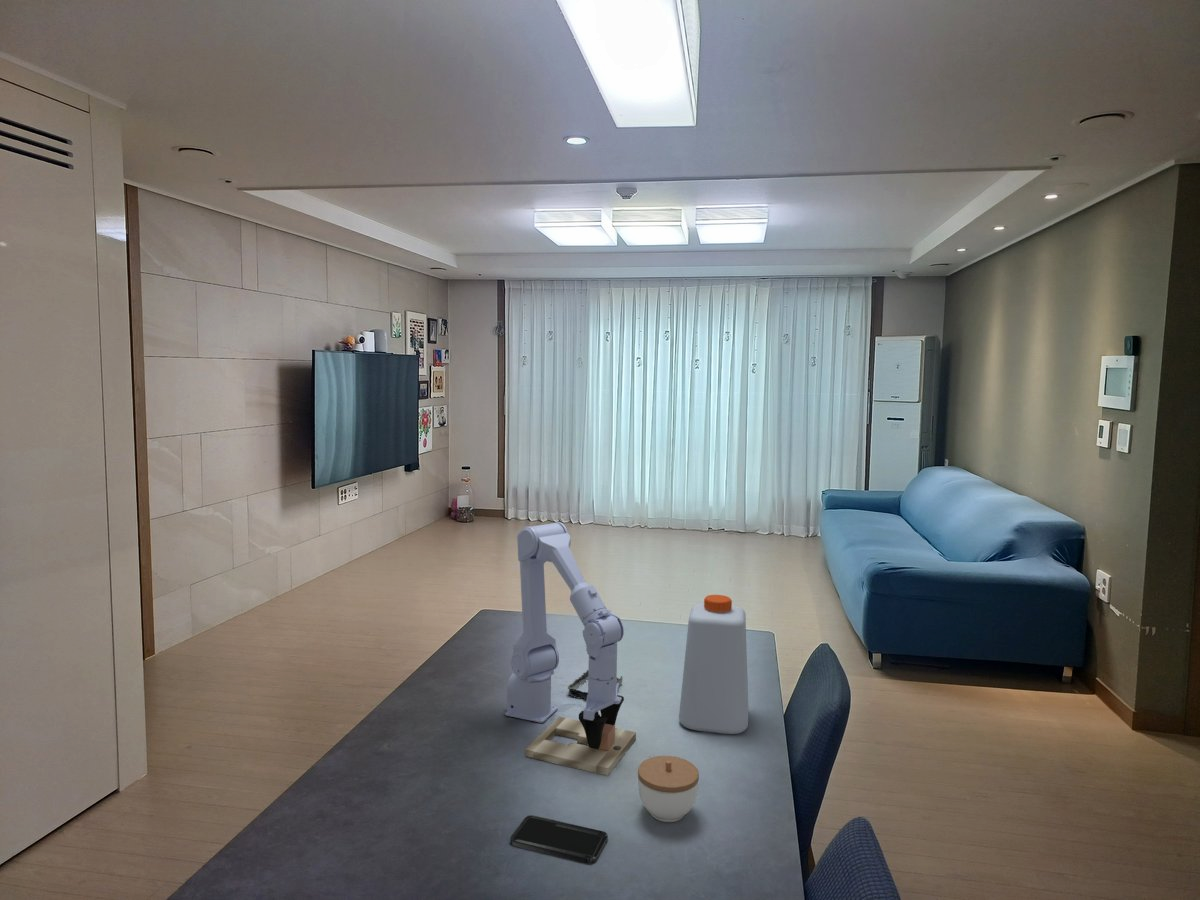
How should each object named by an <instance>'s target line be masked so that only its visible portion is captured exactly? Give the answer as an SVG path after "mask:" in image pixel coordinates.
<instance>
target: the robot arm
mask: <svg viewBox="0 0 1200 900" xmlns="http://www.w3.org/2000/svg"><path fill="white" fill-rule="evenodd" d="M571 537H572V536H571V535H570V534H569V532H568V529H567V527H566V526H565V524H564V523H562V522H561V521H556V522H553V523H547V524H546V523H545V524H541V525H533V526H524V527H523V528H522V529H521V530H520V531H519V532H518V533H517V537H516V538H517V541H516V542H517V556H518V557H517V558H518V559H517V561H518V562H519V572H520V573H519V575H520V592H521V593H520V596H521V614H522V615H521V616H522V618H521V619H522V634H521V635H520V636H519V637H518V638H517V639H516V640H515V641H514V643H513V645H512V655H511V658H510V659H511V660H510V666H511V669H512V673H511V674H510V676H509V679H508V681H507V686H506V687H507V688H506V689H507V690H506V691H507V695H506V696H507V697H506V699H507V700H506V703H507V705H506V706H507V707H506V708H507V709H506V712H505V716H508V717H511V718H512V717H513V718H516V719H519V720H520V719H521V720H525V721H531V722H534V723H535V722H536V723H541V724H543V723H545V722H546V721H547V720H548V719H549V718H550V717H551V716H552V715H554V713H555V712H556V711H557V710H558V709H559V707H558V706H555V705H551V704H552V703H551V702H552V701H551V700H552V675H555V670H556V669H557V668H558V666H559V663H560V653H559V650H558V649H557V648H558V647H557V641H556V640H557V639H556V638H555V637H554V636H552V635H551V634H549V633H548V632H547V607H546V586H545V566H544V565H545V563H547V562H549V563H552V564H553V565H554V567H555V568H556V570H557V571H558V573H559V575H560V576H561V577H562V579H563V580H564V582H565V584H566V585H567V586H568V588H569V590H570V596H569V601H570V603H571V604H572V606H573V608H574V609H575V612H576V614H577V616H578V617H579V620H580V622H581V623H582V625H583V627H584V629H583V630H582V637H583V639H584V642H585V647H586V650H585V651H586V653H587V655H588V670H589V671H588V680H587V682H588V684H587V692H588V695H587V700H586V699H585V700H586V701H585V702H586V703H585V707H584V708H583V710H581V711H580V712H579V713H578V720H579V721H580V722H581V724H582V725H583V728H584V730H585V733H586V737H587V742H588V745H587V746H589V748H594V749H599V747H600V744H601V738H602V731H603V728H604V725H605V724H610V725H615V726H616V722H617V718H618V714H619V711H620V709H621V706H622V705H623V702H624V700H625V697H624V696H622V695H618V694H619V692H620V687H619V683H616V678H618V676H617V675H618V673H617V670H618V668H617V667H618V642H621V640H622V639H623V637H624V633H625V632H624V631H625V630H624V625H623V622H622V620H621V618H620V617H619V615H617V614H616V613H613V612H612V610H610V609H607V607H606V605H605V603H604V602H603V600H602V598H601V596H600V595H599V593H598V591H597V589H596V587H595V586H594V585H593V584H590V583H587V582H586V580H585V579H584V576H583V573H582V571H581V569H580V567H579V565H578V562H577V561H576V559H575V556H574V554H573V551H572V550H571V542H572V538H571ZM599 712H600V713H599Z"/></svg>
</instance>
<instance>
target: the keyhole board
mask: <svg viewBox="0 0 1200 900" xmlns="http://www.w3.org/2000/svg"><path fill="white" fill-rule="evenodd" d="M559 735H560V737H565V738H569V739H573V738H574V739H573V740H577V741H576V743H575V742H570V743H569V744H565V743H560V742H556V741H552V739H553V738H554V737H555V736H559ZM636 739H637V732H635V731H631V730H626V729H622V728H618V727H617V728H616V727H615V742H614V743H613V745H612V747H611V748H610V749H609V750H608V751H607V750H602V749H594V748H589V746H588V745H587V744H588V742H587V737H586V733H585V730H584V728H583V725H582V724H581V722H580V720H579V719H573V718H568V717H565V716H558V717H557V718H555V720H554V721H553V722H551V724H549V726H547V727H546V728H545V729H544V730H543V731H542V733H541V734H539V735H538V736H537V737H536V738H535V739H534V740H533V741H532V742H531V743H529V745H528V746H527V747H526V748H525V749H524V757H525V756H528V757H527V758H530V757H532V758H531V759H534V758H535V759H534V760H538V759H540V761H542V760H543V761H544V762H546V763H551V764H557V765H560V766H564V767H570V768H573V769H578V770H583V771H586V772H591V773H596V774H599V775H603V776H609V775H610V774H611V773H612V771H613V770H614V769H615V767H616V766H617V765H618V763H619V762H620V761H621V759H622V758H623V757H624V756H625V754H626V753H627V751H628V750H629V749H630V747H631V746H632V745H631V744H633V743H634V742H635V741H636ZM634 740H635V741H634ZM633 741H634V742H633ZM582 743H584V744H582ZM630 745H631V746H630ZM628 748H629V749H628ZM627 749H628V750H627ZM625 752H626V753H625Z"/></svg>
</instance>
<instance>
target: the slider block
mask: <svg viewBox="0 0 1200 900" xmlns="http://www.w3.org/2000/svg"><path fill="white" fill-rule="evenodd" d="M615 728H616V724H615V725H610V724H605V725H604V728H603V731H602V738H601V744H600V747H599V749H602V750H607V751H608V750H609V749H610V748H611V747H612V745H613V743H614V742H615Z"/></svg>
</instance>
